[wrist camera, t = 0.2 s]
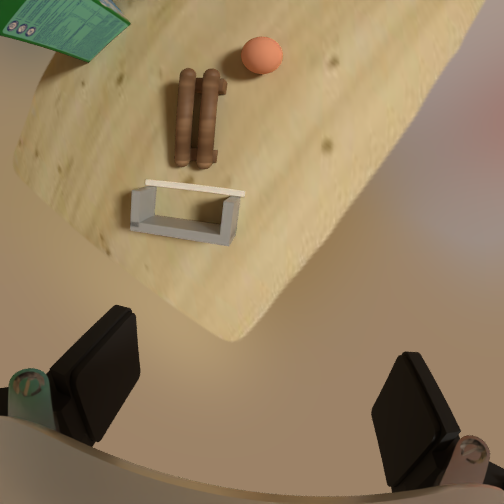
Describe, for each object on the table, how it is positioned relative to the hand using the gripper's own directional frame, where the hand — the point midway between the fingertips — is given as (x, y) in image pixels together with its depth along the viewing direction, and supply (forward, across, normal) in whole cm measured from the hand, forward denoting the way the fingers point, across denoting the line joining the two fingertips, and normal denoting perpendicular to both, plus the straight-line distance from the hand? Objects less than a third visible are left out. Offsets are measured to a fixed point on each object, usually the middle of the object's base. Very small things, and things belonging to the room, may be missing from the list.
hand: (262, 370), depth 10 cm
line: (+31, +12, -2) cm, 33 cm away
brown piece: (+31, +12, -11) cm, 34 cm away
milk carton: (+31, +32, -27) cm, 52 cm away
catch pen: (+31, +12, +1) cm, 33 cm away
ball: (+28, +5, -20) cm, 35 cm away
